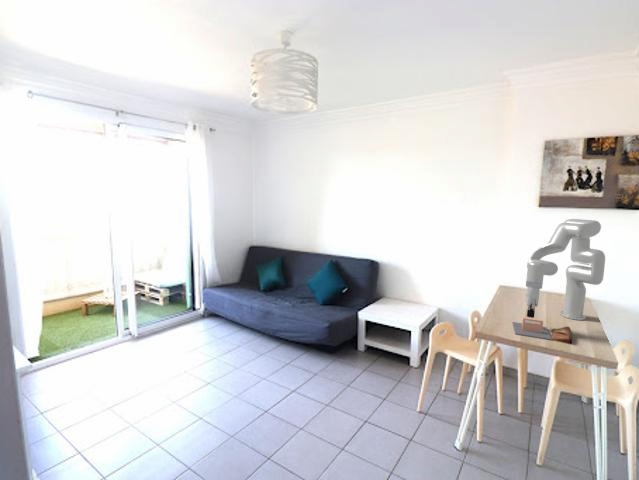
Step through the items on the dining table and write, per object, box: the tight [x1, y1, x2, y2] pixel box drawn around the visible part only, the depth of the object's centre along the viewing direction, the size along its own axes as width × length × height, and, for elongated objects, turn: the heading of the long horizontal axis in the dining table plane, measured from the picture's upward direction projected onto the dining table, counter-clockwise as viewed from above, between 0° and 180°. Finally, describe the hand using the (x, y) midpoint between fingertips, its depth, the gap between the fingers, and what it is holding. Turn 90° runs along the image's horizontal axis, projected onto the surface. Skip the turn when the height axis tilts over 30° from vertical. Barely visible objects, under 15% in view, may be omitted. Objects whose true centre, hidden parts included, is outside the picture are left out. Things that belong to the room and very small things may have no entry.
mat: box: [511, 321, 553, 341], centre depth 178 cm, size 18×16×1 cm
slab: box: [521, 316, 544, 333], centre depth 177 cm, size 2×9×6 cm, turn 65°
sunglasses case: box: [551, 326, 573, 345], centre depth 172 cm, size 18×7×7 cm
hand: (530, 316), depth 183 cm, fingers closed
